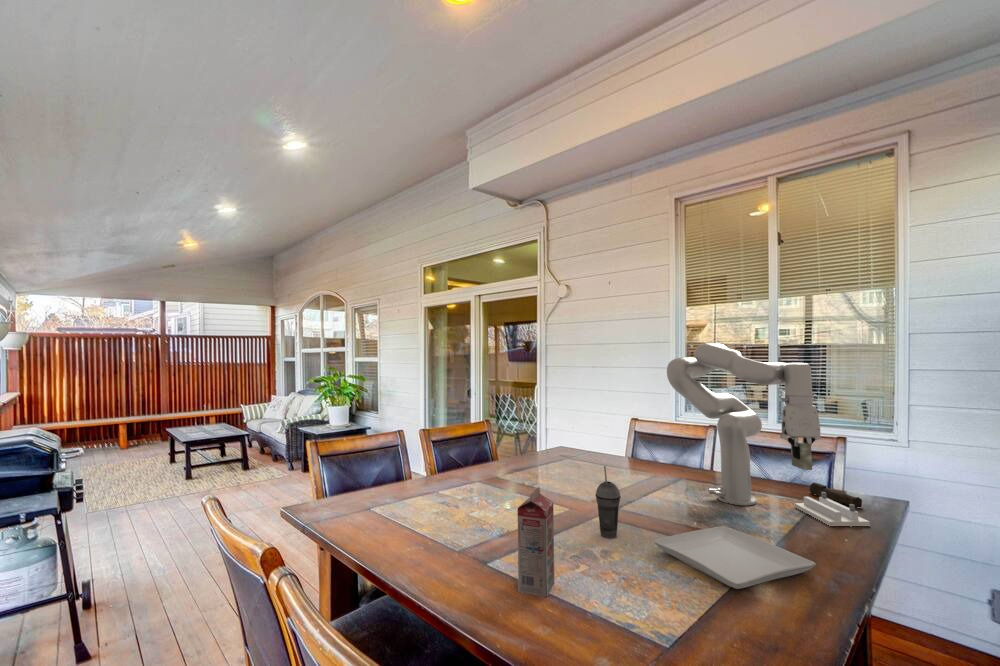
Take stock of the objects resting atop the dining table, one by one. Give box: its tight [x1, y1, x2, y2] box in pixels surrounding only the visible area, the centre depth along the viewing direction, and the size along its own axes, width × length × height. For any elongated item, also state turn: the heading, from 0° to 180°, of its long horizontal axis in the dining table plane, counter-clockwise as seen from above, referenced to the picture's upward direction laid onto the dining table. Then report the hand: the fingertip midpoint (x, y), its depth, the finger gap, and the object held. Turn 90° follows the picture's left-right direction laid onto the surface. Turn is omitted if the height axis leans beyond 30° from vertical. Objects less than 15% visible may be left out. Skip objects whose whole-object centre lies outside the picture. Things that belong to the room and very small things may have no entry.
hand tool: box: [809, 482, 863, 508], centre depth 171 cm, size 19×4×5 cm, turn 11°
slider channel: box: [794, 492, 871, 528], centre depth 154 cm, size 12×18×6 cm, turn 179°
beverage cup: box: [595, 465, 622, 540], centre depth 140 cm, size 7×7×20 cm
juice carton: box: [517, 486, 555, 598], centre depth 109 cm, size 7×7×22 cm
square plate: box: [652, 525, 817, 590], centre depth 121 cm, size 27×27×4 cm
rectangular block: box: [790, 440, 813, 471], centre depth 153 cm, size 2×7×8 cm, turn 177°
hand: (801, 457), depth 153 cm, fingers closed on rectangular block, 2 cm apart
